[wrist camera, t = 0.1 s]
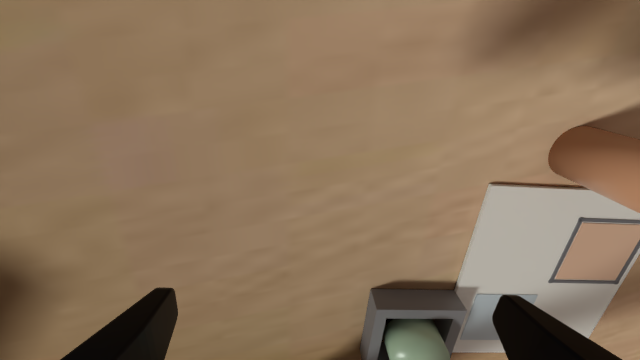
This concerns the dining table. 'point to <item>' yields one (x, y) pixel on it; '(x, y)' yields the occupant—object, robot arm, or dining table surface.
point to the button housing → (410, 316)
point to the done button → (414, 340)
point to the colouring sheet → (544, 257)
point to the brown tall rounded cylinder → (600, 163)
